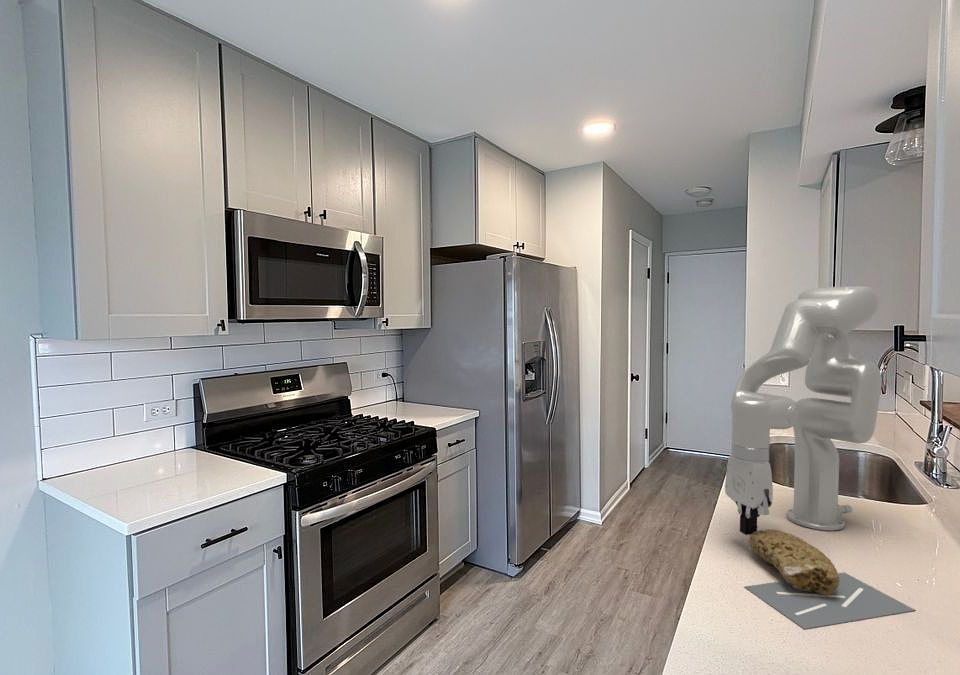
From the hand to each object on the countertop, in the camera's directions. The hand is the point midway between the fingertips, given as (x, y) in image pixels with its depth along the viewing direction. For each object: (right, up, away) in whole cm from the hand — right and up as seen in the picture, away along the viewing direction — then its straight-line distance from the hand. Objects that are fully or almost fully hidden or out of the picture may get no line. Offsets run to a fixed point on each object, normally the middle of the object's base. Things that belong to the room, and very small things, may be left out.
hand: (748, 532), depth 118 cm
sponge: (+3, -4, -11) cm, 12 cm away
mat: (+4, -5, -21) cm, 21 cm away
